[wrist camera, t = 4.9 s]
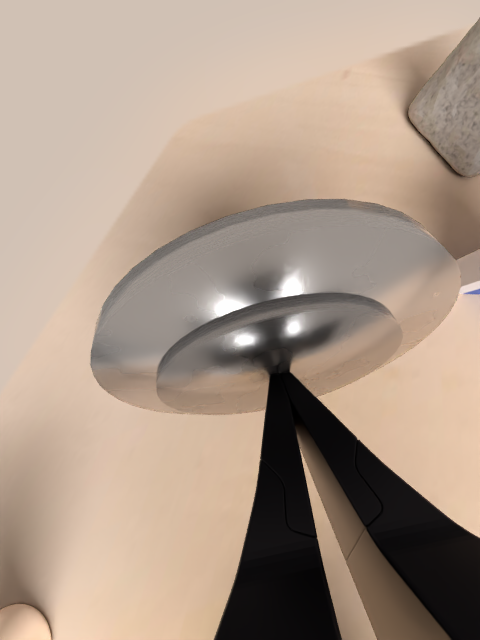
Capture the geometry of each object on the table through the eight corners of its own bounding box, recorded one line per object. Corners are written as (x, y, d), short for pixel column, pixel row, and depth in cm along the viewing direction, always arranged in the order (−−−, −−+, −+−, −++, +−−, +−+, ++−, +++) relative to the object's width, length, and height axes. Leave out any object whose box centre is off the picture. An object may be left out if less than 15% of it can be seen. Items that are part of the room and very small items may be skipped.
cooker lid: (366, 370, 16) (377, 393, 16) (173, 411, 16) (173, 436, 16) (574, 141, 5) (657, 177, 4) (-44, 269, 5) (-88, 332, 4)
